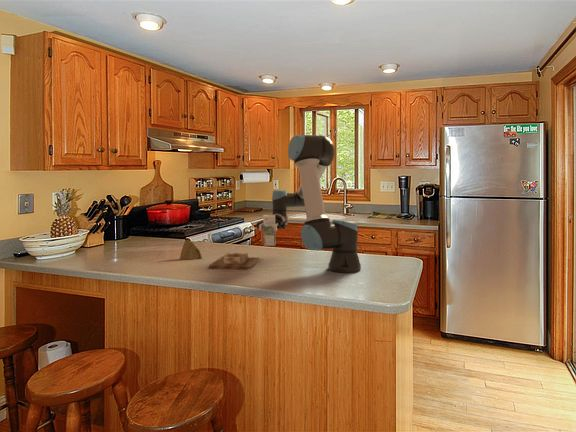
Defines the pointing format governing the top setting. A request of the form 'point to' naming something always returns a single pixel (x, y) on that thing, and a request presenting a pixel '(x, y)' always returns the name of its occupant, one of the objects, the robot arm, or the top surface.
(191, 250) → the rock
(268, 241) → the syrup box
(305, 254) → the top surface
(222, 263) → the socket board
